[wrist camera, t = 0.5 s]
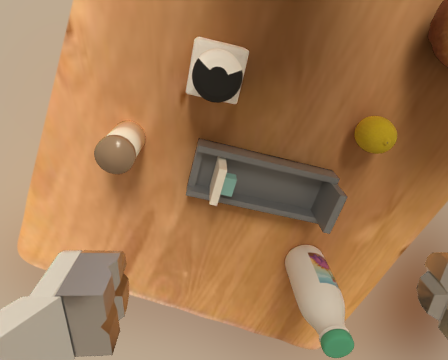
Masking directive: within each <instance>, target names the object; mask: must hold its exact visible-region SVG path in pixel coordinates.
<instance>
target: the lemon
mask: <svg viewBox="0 0 448 360" xmlns="http://www.w3.org/2000/svg"><path fill="white" fill-rule="evenodd" d="M354 136H355V140H356V142H357V144H358V145H359V146H360V147H361V148H362V149H363V150H365V151H367V152H370V153H375V154H379V153H384V152H386V151H388V150H390V149H391V148H392V147H393V146H394V145H395V143H396V140H397V131H396V128H395V127H394V125H393V124H392V123H391V122H390V121H389V120H387V119H386V118H383V117H380V116H370V117H367V118H364V119H363V120H361V121H360V122H359V123H358V125H357V126H356V128H355V132H354Z"/></svg>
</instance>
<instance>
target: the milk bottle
mask: <svg viewBox="0 0 448 360" xmlns="http://www.w3.org/2000/svg"><path fill="white" fill-rule="evenodd" d="M285 267H286V270H287V273H288V277H289V280H290V283H291V286H292V289H293V292H294V295H295V298H296V301H297V304H298V307H299V309H300V311H301V313H302V315H303V317H304V318H305V320H306V321H307V322H308V323H309V324H310V325H311V326H312V327H313V328H314V329H315V330H316V331H317V333H318V334H319V341H320V342H321V346H322V349H323V351H324V353H325V354H326V355H327V356H329V357H332V358H340V357H344V356H346V355H348V354H349V353H350V352H351V351H352V350H353V348H354V341H353V339H352V337H351V335H350V333H349V331H348V329H347V328H346V327H345V321H344V318H345V304H344V299H343V296H342V294H341V291H340V289H339V287H338V285H337V283H336V280H335V278H334V276H333V274H332V272H331V270H330V268H329V266H328V264H327V262H326V260H325V258H324V256H323V254H322V253H321V251H320V250H319V249H318V248H316V247H314V246H312V245H300V246H297V247H295V248H293V249H292V250H291V251H289V253H288V254H287V256H286V259H285Z"/></svg>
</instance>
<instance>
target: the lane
mask: <svg viewBox="0 0 448 360" xmlns="http://www.w3.org/2000/svg"><path fill="white" fill-rule="evenodd" d="M218 156H219V157H223V158H226V163H227V173H231V174H235V175H236V178H237V181H236V184H235V188H234V191H233V194H232V197H230V196H226V195H221V194H220V197H219V200H218V202H219V203H224V204H229V205H233V206H238V207H243V208H247V209H252V210H257V211H261V212H266V213H271V214H275V215H280V216H285V217H289V218H294V219H299V220H303V221H308V222H312V223H317V224H319V226H320V228H321V230H322V231H323V232H324V233H329V234H330V232H331V230H332V228H333V226H334V224H335V222H336V220H337V218H338V216H339V214H340V212H341V210H342V208H343V205H344V203H345V201H346V199H347V196H346V194H345V193H344V192H343V191H342V190H341V188H340V187H339V186H338V185H337V184H338V182H339V180H340V179H339V178H338V177H337V175H336V174H335V173H334V172H333V171H332V170H328V169H324V168H320V167H316V166H312V165H308V164H303V163H299V162H295V161H291V160H287V159H283V158H279V157H275V156H270V155H266V154H262V153H258V152H254V151H250V150H246V149H241V148H237V147H233V146H229V145H225V144H221V143H217V142H213V141H208V140H204V139H200V138H199V139H198V143H197V148H196V152H195V156H194V160H193V164H192V168H191V172H190V176H189V181H188V185H187V191H186V195H187V196H191V197H196V198H201V199H205V200H209V191H210V183H211V179H212V176H213V172H214V168H215V165H216V161H217V157H218Z"/></svg>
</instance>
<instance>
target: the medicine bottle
mask: <svg viewBox="0 0 448 360" xmlns="http://www.w3.org/2000/svg"><path fill="white" fill-rule="evenodd" d="M248 56H249V50H247V49H245V48H244V47H241V46H237V45H232V44H228V43H224V42H220V41H216V40H212V39H208V38H203V37H197V38H195V40H194V45H193V51H192V57H191V63H190V69H189V75H188V81H187V87H186V93H187V94H189V95H194V96H199V97H203V98H204V99H206V100H208V101H210V102H216V103H219V102H226V103H231V104H237V102H238V98H239V93H240V89H241V85H242V81H243V77H244V72H245V68H246V64H247V60H248Z"/></svg>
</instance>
